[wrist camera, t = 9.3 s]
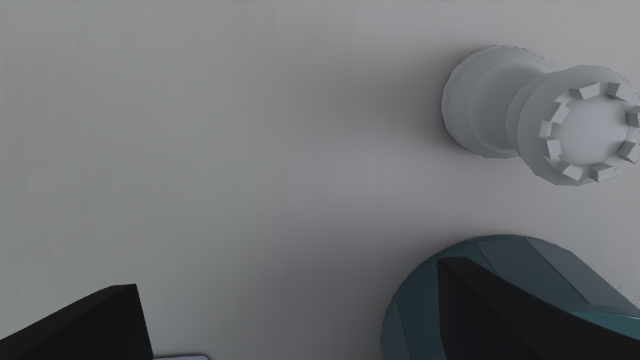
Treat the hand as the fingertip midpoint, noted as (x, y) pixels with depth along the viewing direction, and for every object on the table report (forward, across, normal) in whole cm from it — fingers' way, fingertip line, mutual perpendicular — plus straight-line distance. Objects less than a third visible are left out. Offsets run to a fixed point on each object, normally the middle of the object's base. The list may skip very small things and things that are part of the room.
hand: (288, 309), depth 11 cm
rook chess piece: (+10, -8, -3) cm, 13 cm away
